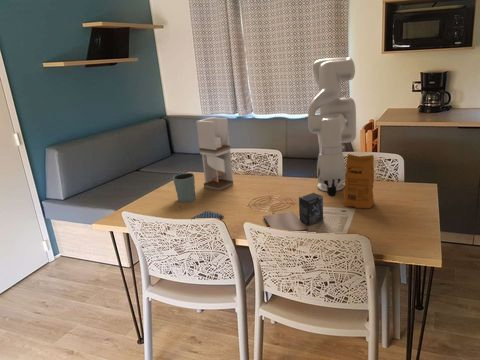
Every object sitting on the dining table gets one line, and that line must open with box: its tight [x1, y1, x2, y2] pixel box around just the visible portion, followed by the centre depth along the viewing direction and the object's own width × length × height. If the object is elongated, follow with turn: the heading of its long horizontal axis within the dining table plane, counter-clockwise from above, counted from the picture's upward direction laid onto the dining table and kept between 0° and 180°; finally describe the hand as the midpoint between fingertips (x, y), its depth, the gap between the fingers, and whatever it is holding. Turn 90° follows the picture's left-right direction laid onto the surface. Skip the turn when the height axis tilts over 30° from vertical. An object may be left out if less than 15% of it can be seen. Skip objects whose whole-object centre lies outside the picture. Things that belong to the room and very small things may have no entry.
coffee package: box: [343, 153, 375, 209], centre depth 169 cm, size 10×12×22 cm
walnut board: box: [263, 211, 309, 232], centre depth 158 cm, size 12×18×2 cm
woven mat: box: [191, 210, 225, 220], centre depth 170 cm, size 10×11×2 cm
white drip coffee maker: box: [196, 116, 234, 191], centre depth 207 cm, size 11×11×35 cm
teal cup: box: [172, 172, 197, 203], centre depth 195 cm, size 10×10×12 cm
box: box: [298, 192, 324, 227], centre depth 158 cm, size 8×6×11 cm
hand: (331, 195), depth 158 cm, fingers closed
